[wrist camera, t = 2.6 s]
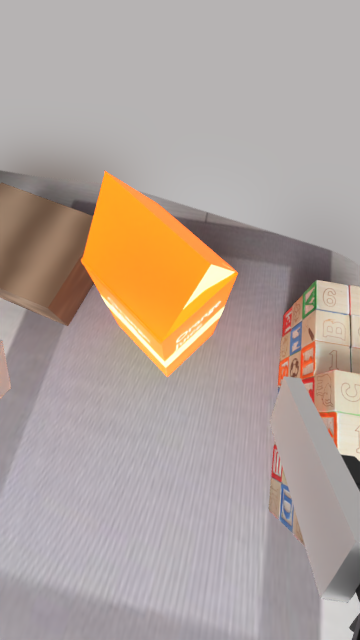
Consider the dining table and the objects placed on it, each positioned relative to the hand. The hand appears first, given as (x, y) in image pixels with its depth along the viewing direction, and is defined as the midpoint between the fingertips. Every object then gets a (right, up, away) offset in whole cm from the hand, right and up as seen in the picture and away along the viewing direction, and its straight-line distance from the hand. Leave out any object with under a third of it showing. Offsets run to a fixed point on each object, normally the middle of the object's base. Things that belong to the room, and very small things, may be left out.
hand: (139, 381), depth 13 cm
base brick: (-16, +10, +24) cm, 30 cm away
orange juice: (0, +2, +21) cm, 21 cm away
